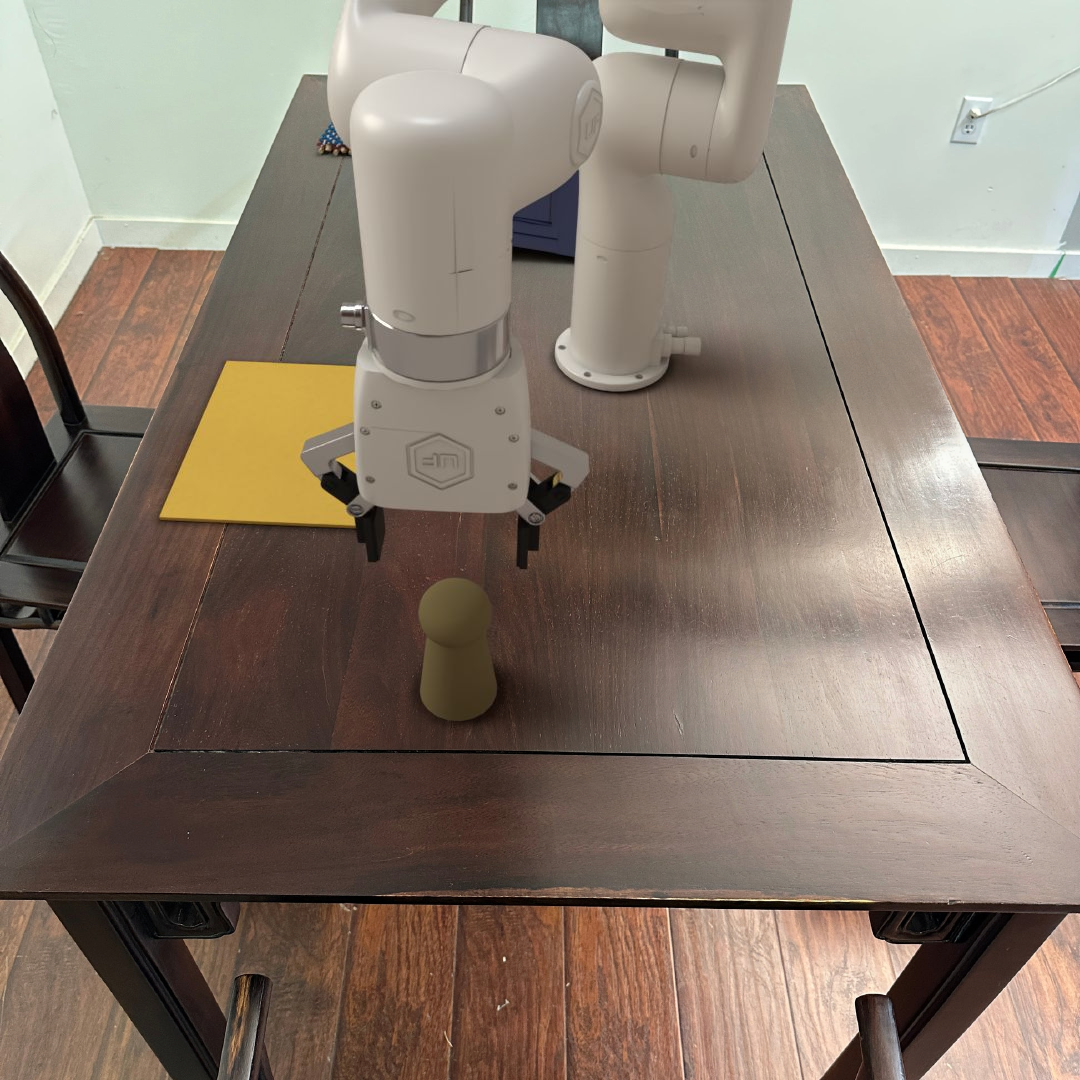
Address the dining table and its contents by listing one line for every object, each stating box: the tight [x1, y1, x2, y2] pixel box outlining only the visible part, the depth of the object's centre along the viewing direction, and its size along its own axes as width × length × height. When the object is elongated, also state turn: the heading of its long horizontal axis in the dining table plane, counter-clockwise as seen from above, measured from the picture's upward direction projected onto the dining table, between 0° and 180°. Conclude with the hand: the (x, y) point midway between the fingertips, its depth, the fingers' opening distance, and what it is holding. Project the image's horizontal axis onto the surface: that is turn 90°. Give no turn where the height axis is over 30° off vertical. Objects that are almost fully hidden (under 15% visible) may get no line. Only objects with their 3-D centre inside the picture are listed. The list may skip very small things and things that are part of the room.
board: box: [158, 360, 356, 529], centre depth 95 cm, size 18×24×1 cm
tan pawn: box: [417, 577, 498, 722], centre depth 71 cm, size 6×6×11 cm
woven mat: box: [316, 121, 352, 157], centre depth 142 cm, size 10×11×2 cm
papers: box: [512, 169, 579, 258], centre depth 128 cm, size 24×30×4 cm
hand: (450, 550), depth 64 cm, fingers open, 9 cm apart
